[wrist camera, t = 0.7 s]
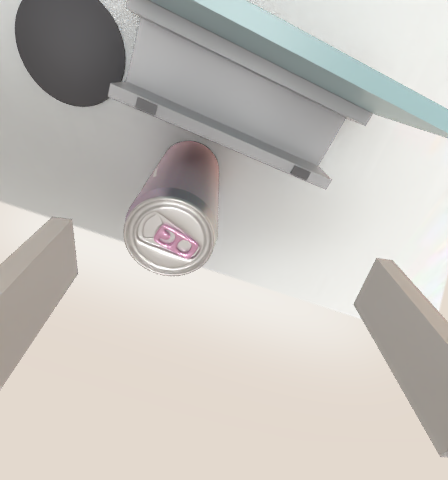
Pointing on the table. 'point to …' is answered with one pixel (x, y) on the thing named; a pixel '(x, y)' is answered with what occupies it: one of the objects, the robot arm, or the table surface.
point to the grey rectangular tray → (231, 95)
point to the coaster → (70, 48)
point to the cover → (312, 60)
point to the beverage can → (176, 212)
